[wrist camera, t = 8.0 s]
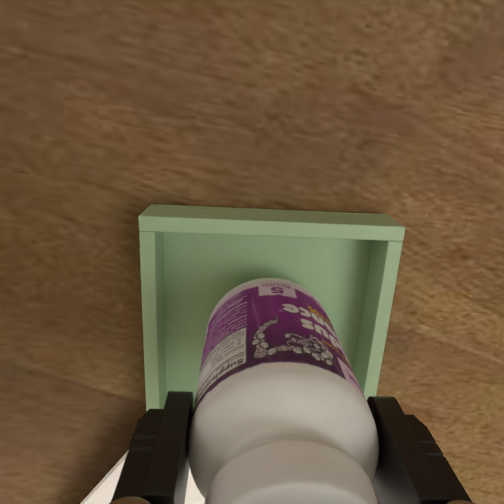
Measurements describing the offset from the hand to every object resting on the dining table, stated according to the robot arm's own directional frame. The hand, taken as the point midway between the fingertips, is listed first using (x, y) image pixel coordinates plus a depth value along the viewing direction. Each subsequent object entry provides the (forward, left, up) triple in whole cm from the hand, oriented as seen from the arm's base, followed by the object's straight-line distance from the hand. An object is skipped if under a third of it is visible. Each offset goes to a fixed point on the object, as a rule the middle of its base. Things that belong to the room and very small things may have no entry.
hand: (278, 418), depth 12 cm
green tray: (0, 0, -7) cm, 7 cm away
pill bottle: (0, 0, -6) cm, 6 cm away
